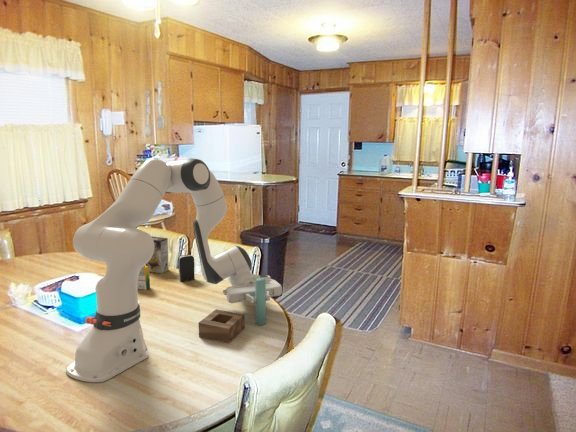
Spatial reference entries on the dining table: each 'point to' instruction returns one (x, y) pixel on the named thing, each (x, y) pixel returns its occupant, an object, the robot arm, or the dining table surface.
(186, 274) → the battery charger
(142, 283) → the crayon box
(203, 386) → the dining table surface
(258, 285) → the peg
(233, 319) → the socket block
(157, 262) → the coffee box
